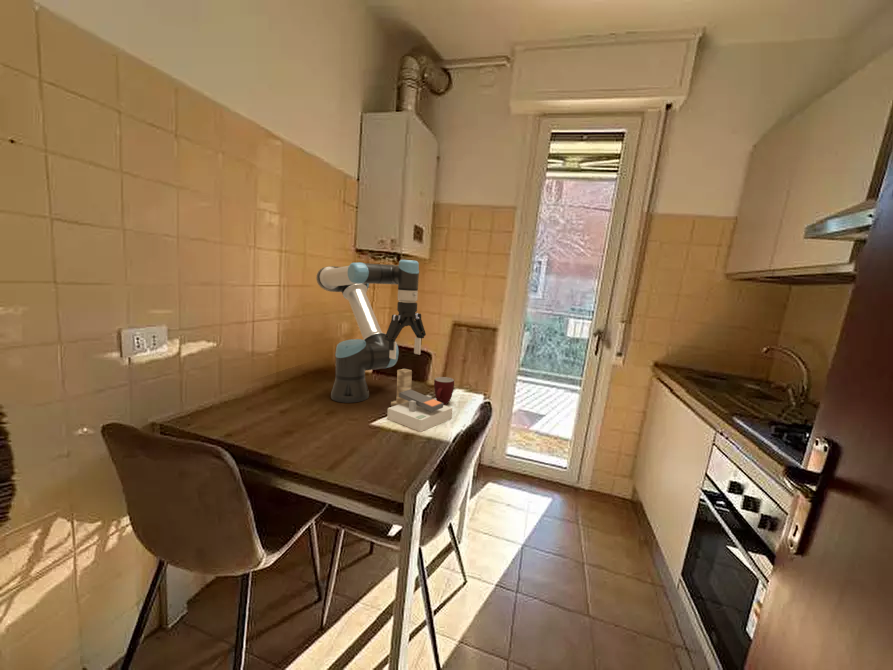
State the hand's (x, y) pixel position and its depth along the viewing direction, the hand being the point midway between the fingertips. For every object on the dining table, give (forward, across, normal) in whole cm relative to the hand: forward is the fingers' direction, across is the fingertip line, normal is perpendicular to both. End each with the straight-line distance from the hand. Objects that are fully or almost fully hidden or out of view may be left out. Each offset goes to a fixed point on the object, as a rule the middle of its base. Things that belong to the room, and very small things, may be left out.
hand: (405, 356), depth 147 cm
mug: (+20, +12, -10) cm, 25 cm away
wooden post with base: (+20, 0, 0) cm, 20 cm away
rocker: (+13, -6, -14) cm, 20 cm away
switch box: (+20, -6, -14) cm, 25 cm away
